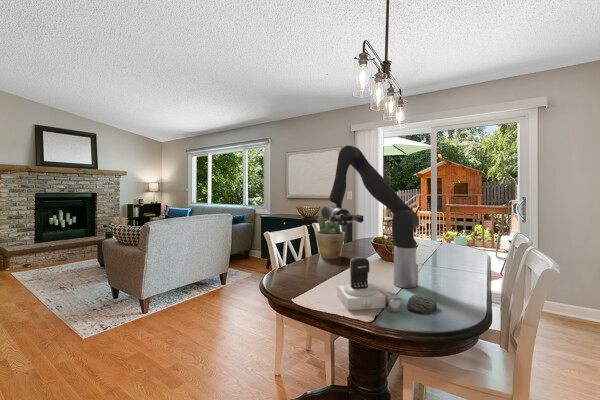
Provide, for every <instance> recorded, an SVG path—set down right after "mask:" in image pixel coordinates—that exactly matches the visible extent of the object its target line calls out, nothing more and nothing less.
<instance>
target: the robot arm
mask: <svg viewBox="0 0 600 400" xmlns="http://www.w3.org/2000/svg"><path fill="white" fill-rule="evenodd" d="M350 166H352V167H353V168H354V169H355V171H356V172H357V173H358V174H359V176H360V178H361V181H362V183H363V186H364V187H365V188H366V190H367V191H368V193H369V194H370V195H371V196H372V197H373V198H374V199H375V200H377V201H378V202H379V203H381V205H383V206H385V207H386V208H387V209H388V210H389V211H390V212H391V213H392V214H393V216H392V219H391V236H392V241H393V285H394V286H397V287H399V288H405V289H411V288H416V287H418V286H419V283H418V282H419V280H418V279H419V265H418V264H417V241H416V240H415V238H414V230H415V229H416V228H417V227H419V223H420V220H419V216H418V214H417V213H416V212H415V211H414V210H413V209H412V208H411V207H410V206H408V204H406V202H404V201H403V199H402V198H400V196H399V195H398V194H397V192H395V190H394V189H393V188H392V186H391V185H390V184H389V183H388V182H387V181H386V179H385V177H383V176H382V175H381V174H380V173H379V172H378V171H377V170H376V168H375V167H373V165H372V164H371V163H370V162H369V161H368V159H367V158H366V157H365V155H364V153H363V152H362V150H361V149H359V148H358V147H356V146H352V145H350V144H349V145H348V144H347V145H343V146H342V147H341V149H340V150H339V152H338V156H337V163H336V169H335V175H334V176H335V177H334V181H333V185H332V188H331V191H330V195H329V198H328V199H329V201H330V202H331V203H333V204H335V206H332V205H328V204H325V205H324V206H323V207H322V208H321V212H320V214H321V217H323V219H327V220H329V221H330V222H332V223H334V222H335V223H337V224H339V225H340V226H346V225H348V224H350V223H361V224H362V223H363V222H364V221H365V220H364V218H365V217H364V215H363V214H362V215H361V214H354V213H350V211H349V210H347V209H345V208H342V206H343V199H344V197H345V194H346V190H347V176H348V175H347V173H348V170H349V168H350Z"/></svg>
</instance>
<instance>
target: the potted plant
mask: <svg viewBox="0 0 600 400" xmlns="http://www.w3.org/2000/svg"><path fill="white" fill-rule="evenodd" d="M317 224H318V227H319V230H318V231H316V232H315V236H316V237H315V238H316V242H317V246H318V250H319V253H320V256H321V257H322V258H323V259H326V260H327V259H328V260H333V259H334V260H335V259H339V258H340V255H341V251H342V248H343V244H344V240H345V237H346V232H345V231H341V225H339V224H337V223H335V222H334V223H332V222H330V220H325V218H323V216H319V217H318V218H317Z"/></svg>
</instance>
